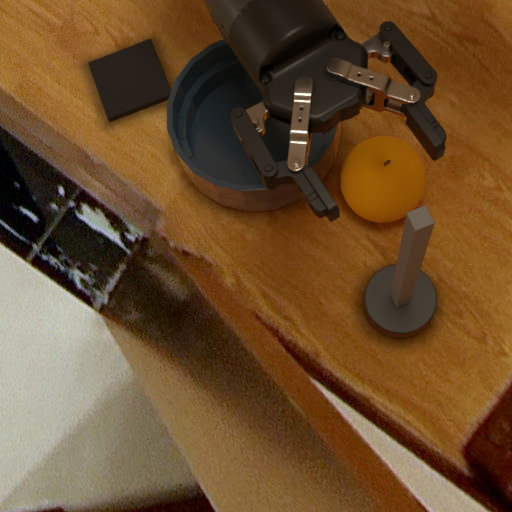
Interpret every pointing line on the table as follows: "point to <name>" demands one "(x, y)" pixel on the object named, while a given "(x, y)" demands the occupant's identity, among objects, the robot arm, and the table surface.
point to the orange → (383, 179)
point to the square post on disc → (404, 284)
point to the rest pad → (130, 80)
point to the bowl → (231, 133)
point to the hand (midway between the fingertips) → (388, 185)
